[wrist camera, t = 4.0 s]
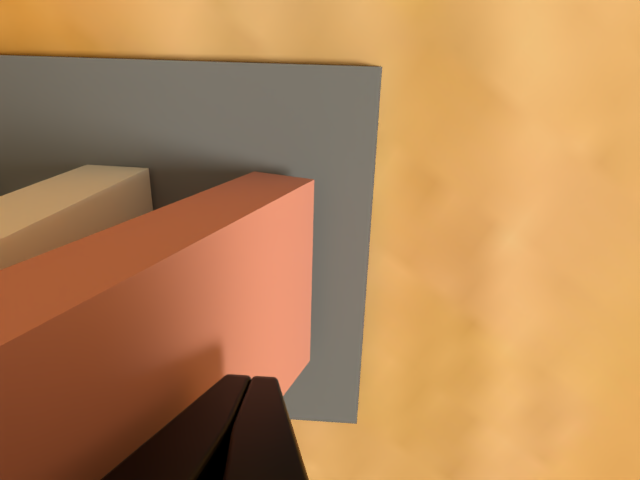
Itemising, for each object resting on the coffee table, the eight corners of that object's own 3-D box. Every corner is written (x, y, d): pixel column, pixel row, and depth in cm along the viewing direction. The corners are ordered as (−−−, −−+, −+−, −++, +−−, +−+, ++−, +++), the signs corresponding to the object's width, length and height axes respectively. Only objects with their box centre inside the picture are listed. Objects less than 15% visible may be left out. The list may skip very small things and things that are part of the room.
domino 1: (314, 179, 11) (-234, 469, 3) (309, 360, 13) (-43, 825, 5) (254, 171, 11) (-334, 399, 4) (258, 346, 13) (-130, 741, 6)
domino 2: (148, 168, 11) (-461, 460, 3) (167, 342, 13) (-188, 819, 5) (86, 164, 12) (-649, 435, 3) (113, 337, 13) (-316, 789, 5)
